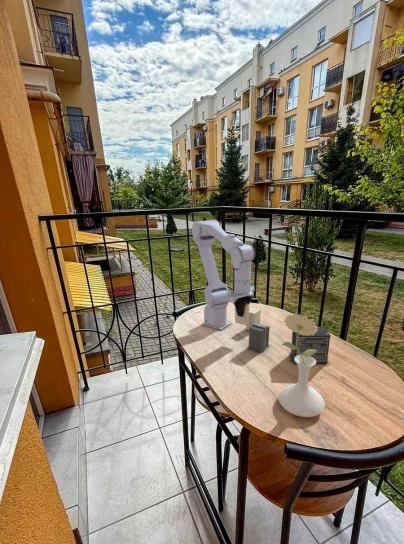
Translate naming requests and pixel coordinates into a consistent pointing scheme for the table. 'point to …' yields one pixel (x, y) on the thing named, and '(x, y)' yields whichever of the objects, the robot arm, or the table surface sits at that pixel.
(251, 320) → the cream books
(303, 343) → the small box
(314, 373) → the table surface
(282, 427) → the table surface
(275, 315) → the table surface
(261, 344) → the grey books
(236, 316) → the cream book
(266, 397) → the table surface
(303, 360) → the flower in vase
